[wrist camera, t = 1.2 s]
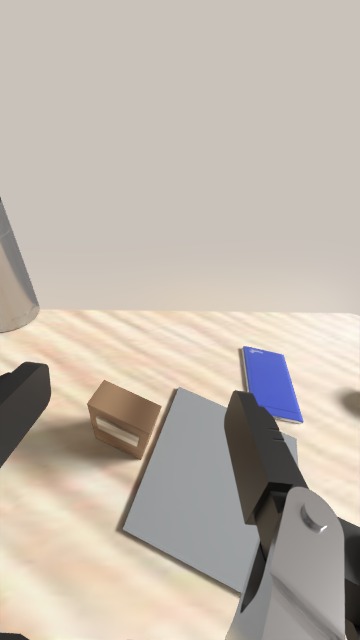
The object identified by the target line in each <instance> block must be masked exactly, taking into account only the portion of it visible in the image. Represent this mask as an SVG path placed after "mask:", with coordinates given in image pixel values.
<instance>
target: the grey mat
mask: <svg viewBox="0 0 360 640" xmlns="http://www.w3.org/2000/svg"><path fill="white" fill-rule="evenodd" d="M226 411H227V408H226V407H224V406H221V405H219V404H217V403H215V402H212V401H210V400H208V399H206V398H203V397H201V396H199V395H197V394H194V393H192V392H190V391H188V390H185V389H183V388H181V387H179V388H178V390H177V393H176V395H175V398H174V400H173V403H172V405H171V408H170V411H169V413H168V416H167V418H166V421H165V423H164V426H163V428H162V431H161V433H160V436H159V438H158V441H157V443H156V446H155V448H154V451H153V454H152V456H151V459H150V461H149V464H148V466H147V469H146V471H145V474H144V476H143V479H142V481H141V484H140V486H139V489H138V492H137V494H136V497H135V499H134V502H133V504H132V507H131V509H130V512H129V514H128V517H127V519H126V522H125V524H124V527H123V530H125V531H126V532H128V533H130V534H132V535H134V536H136V537H138V538H139V539H141V540H143V541H145V542H147V543H149V544H151V545H153V546H154V547H156V548H158V549H160V550H162V551H164V552H166V553H167V554H169V555H171V556H173V557H175V558H177V559H179V560H181V561H182V562H184V563H186V564H188V565H190V566H192V567H194V568H195V569H197V570H199V571H201V572H203V573H205V574H207V575H209V576H210V577H212V578H214V579H216V580H218V581H220V582H222V583H223V584H225V585H227V586H229V587H231V588H233V589H235V590H237V591H238V592H240V593H242V590H243V587H244V584H245V580H246V577H247V574H248V570H249V567H250V564H251V561H252V557H253V554H254V551H255V547H256V544H257V541H258V539H259V534H258V530H257V526H256V525H246V524H245V523H244V518H243V513H242V509H241V504H240V500H239V495H238V490H237V486H236V481H235V477H234V472H233V467H232V463H231V458H230V454H229V449H228V444H227V440H226V435H225V430H224V417H225V414H226ZM279 432H280V431H279ZM281 434H282V436H283V438H284V442H286V444H287V446H288V448H289V450H290V452H291V454H292V456H293V458H294V460H295V462H296V464H297V466H298V457H297V442H296V439H295V438H293V437H291V436H289V435H287V434H284V433H282V432H281Z"/></svg>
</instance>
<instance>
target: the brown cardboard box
mask: <svg viewBox="0 0 360 640" xmlns="http://www.w3.org/2000/svg"><path fill="white" fill-rule="evenodd" d="M87 405H88V409H89V413H90V417H91V421H92V425H93V428H94V432H95V436H96V438H98V439H100V440H102V441H104V442H106V443H108V444H110V445H112V446H114V447H116V448H118V449H120V450H122V451H124V452H126V453H128V454H130V455H132V456H134V457H136V458H138V459H140V460H141V458H142V456H143V453H144V451H145V449H146V446H147V444H148V442H149V439H150V437H151V434H152V431H153V428H154V426H155V423H156V420H157V417H158V415H159V412H160V409H161V406H160V405H158V404H156V403H153V402H151V401H149V400H147V399H145V398H142V397H140V396H138V395H136V394H134V393H132V392H129V391H127V390H125V389H123V388H121V387H119V386H116V385H114V384H112V383H110V382H108V381H105V380H104V381H103V382H102V384H101V385H100V386H99V388H98V389H97V391H96V392H95V393H94V395H93V396H92V398H91V399H90V400H89V402H88V403H87Z"/></svg>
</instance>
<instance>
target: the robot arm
mask: <svg viewBox="0 0 360 640" xmlns="http://www.w3.org/2000/svg"><path fill="white" fill-rule="evenodd" d="M38 312H39V304H38V301H37V298H36V295H35V292H34V290H33V286H32V283H31V281H30V278H29V275H28V273H27V270H26V267H25V264H24V261H23V258H22V256H21V253H20V250H19V247H18V245H17V242H16V239H15V236H14V233H13V231H12V228H11V225H10V223H9V220H8V217H7V215H6V212H5V209H4V206H3V203H2V201H1V198H0V332H6V331H11V330H14V329H18V328H20V327H22V326H24V325H26V324H28V323H29V322H31V321H32V320H33V319H34V318H35V317H36V316H37V314H38ZM50 397H51V386H50V376H49V368H48V365H46V364H41V363H34V362H24V363H22V364H21V365H20V366H19V367H18V368H16V369H15V370H14V371H13V372H12V373H9V372H8V373H5V374H3V375H1V376H0V468H1V466H2V465H3V464H4V463H5V461H6V460H7V459H8V457H9V456H10V455H11V453H12V452H13V451H14V449H15V448H16V447H17V445H18V444H19V443H20V441H21V440H22V439H23V437H24V436H25V435H26V433H27V432H28V431H29V429H30V428H31V427H32V426H33V424H34V423H35V422H36V420H37V419H38V418H39V416H40V415H41V414H42V412H43V411H44V410H45V408H46V407H47V405H48V403H49V401H50ZM224 430H225V435H226V440H227V444H228V449H229V454H230V458H231V463H232V467H233V472H234V477H235V481H236V486H237V490H238V495H239V500H240V504H241V509H242V513H243V518H244V523H245V524H246V525H256V526H257V530H258V534H259V539H258V541H257V544H256V547H255V551H254V554H253V557H252V561H251V564H250V567H249V570H248V574H247V577H246V580H245V584H244V587H243V590H242V594H241V597H240V600H239V604H238V607H237V610H236V613H235V616H234V619H233V621H232V624H231V626H230V628H229V630H228V633H227V635H226V638H225V640H345V635H346V637H347V640H360V527H358V526H356V525H354V524H351V523H349V522H347V521H345V520H343V519H341V518H339V517H337V516H336V514H335V513H334V511H333V510H332V509H331V507H330V506H329V505H328V504H327V503H326V502H325V501H324V500H323V499H322V498H321V497H320V496H319V495H317V494H316V493H314V492H313V491H311V490H309V488H308V486H307V484H306V482H305V480H304V478H303V476H302V474H301V472H300V470H299V468H298V466H297V464H296V462H295V460H294V458H293V456H292V454H291V452H290V450H289V448H288V446H287V444H286V442H284V438H283V436H282V434H281V432H279V428H278V426H277V424H276V422H275V420H274V418H273V416H272V415H271V414H270V413H269V412H268V411H267V410H266V409H265V407H262V406H259V405H258V403H257V401H256V399H255V396H254V394H253V393H250V392H243V391H236V390H235V391H234V392H233V394H232V396H231V399H230V402H229V405H228V408H227V411H226V414H225V417H224ZM0 640H29V639H28V638H26V637H24V636H23V635H21V634H14V633H0Z"/></svg>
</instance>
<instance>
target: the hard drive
mask: <svg viewBox="0 0 360 640" xmlns="http://www.w3.org/2000/svg"><path fill="white" fill-rule="evenodd" d="M242 355H243V363H244V370H245V378H246V385H247V392H250V393H253V394H254V396H255V399H256V401H257V403H258V405H259V406H262V407H265V409H266V410H267V411H268V412H269V413H270V414H271V415H272V416H273V418H274V419H279V420H284V421H289V422H293V423H298V424H301V423H303V419H302V415H301V412H300V409H299V406H298V402H297V399H296V395H295V392H294V389H293V385H292V382H291V378H290V375H289V372H288V369H287V365H286V362H285V358H284V355H282V354H278V353H274V352H269V351H265V350H260V349H256V348H251V347H247V346H244V347H243V348H242Z"/></svg>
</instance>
